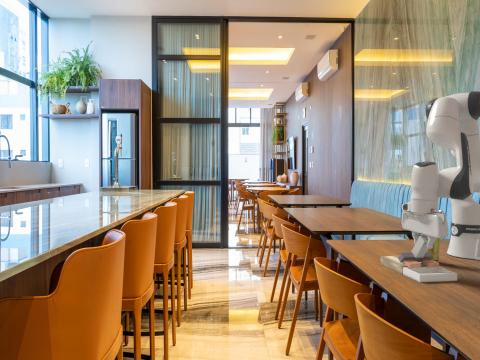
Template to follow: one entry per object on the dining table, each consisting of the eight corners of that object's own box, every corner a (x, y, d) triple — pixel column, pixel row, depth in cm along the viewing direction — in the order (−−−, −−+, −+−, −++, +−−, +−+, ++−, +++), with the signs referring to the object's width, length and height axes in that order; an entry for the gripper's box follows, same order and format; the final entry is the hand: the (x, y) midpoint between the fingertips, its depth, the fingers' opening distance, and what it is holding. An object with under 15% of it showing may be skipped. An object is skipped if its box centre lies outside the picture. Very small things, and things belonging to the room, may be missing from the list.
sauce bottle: (418, 261, 147) (419, 212, 146) (428, 259, 149) (430, 212, 149) (432, 265, 141) (433, 214, 140) (443, 263, 143) (444, 214, 143)
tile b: (413, 263, 130) (413, 259, 130) (420, 267, 126) (420, 263, 126) (403, 263, 130) (403, 259, 129) (409, 267, 126) (410, 263, 126)
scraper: (426, 256, 134) (438, 235, 128) (431, 263, 132) (443, 241, 126) (397, 257, 132) (408, 235, 126) (401, 263, 130) (412, 241, 124)
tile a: (431, 263, 131) (431, 259, 131) (438, 266, 127) (439, 262, 127) (421, 263, 131) (421, 259, 131) (428, 267, 127) (428, 263, 127)
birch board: (412, 262, 144) (412, 255, 144) (437, 272, 130) (437, 264, 130) (380, 263, 142) (380, 256, 142) (401, 274, 128) (402, 265, 128)
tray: (438, 273, 130) (438, 266, 130) (457, 280, 121) (457, 273, 121) (402, 274, 127) (403, 267, 127) (419, 282, 118) (419, 274, 118)
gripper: (453, 210, 117) (452, 252, 118) (413, 204, 137) (413, 240, 138) (436, 210, 116) (435, 253, 117) (398, 204, 136) (398, 240, 137)
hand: (423, 246), depth 127 cm, fingers closed on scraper, 5 cm apart
